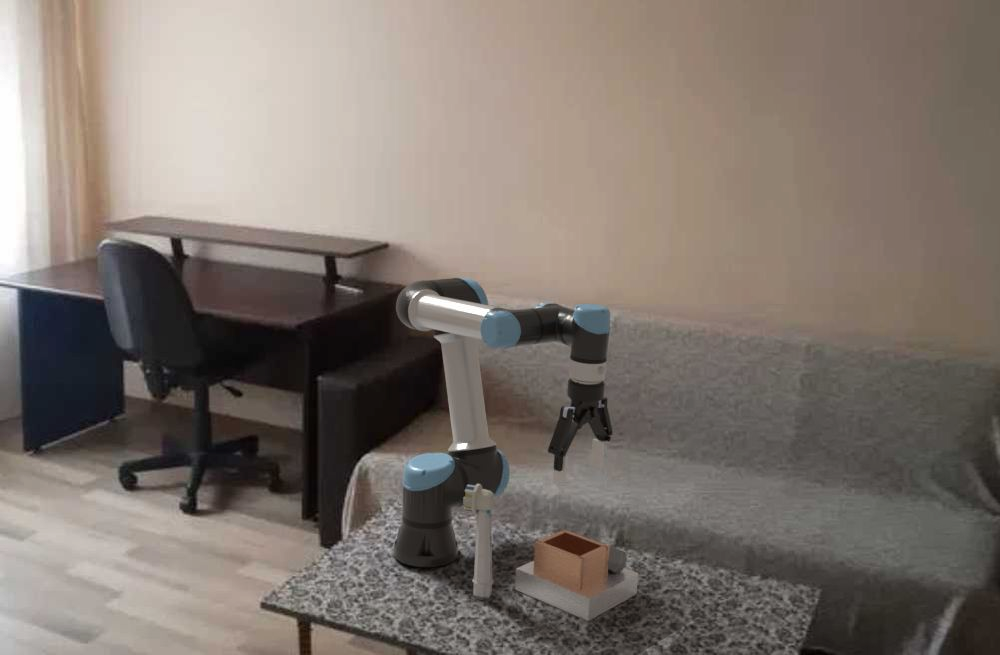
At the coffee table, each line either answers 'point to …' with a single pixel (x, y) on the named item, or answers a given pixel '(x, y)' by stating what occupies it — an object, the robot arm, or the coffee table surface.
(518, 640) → the coffee table surface
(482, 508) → the pale grey tall bar
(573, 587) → the open box on base
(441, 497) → the robot arm
